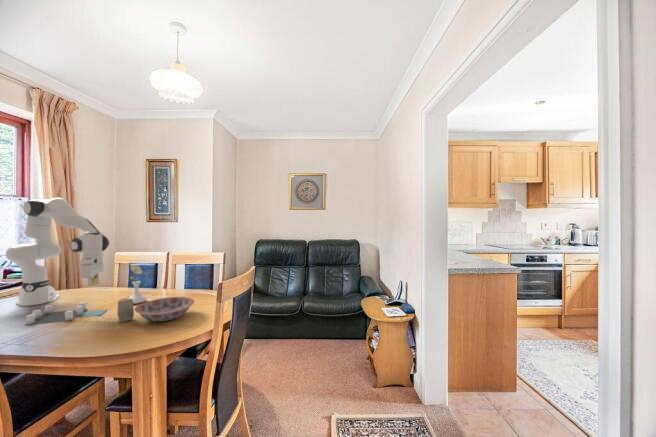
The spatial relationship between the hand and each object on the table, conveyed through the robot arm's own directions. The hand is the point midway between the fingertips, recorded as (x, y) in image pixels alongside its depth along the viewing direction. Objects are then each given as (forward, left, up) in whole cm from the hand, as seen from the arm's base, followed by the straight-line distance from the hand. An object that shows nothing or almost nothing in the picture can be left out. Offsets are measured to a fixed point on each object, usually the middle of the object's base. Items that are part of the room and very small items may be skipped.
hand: (93, 282), depth 163 cm
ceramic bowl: (+21, +41, -19) cm, 50 cm away
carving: (+18, +21, -19) cm, 33 cm away
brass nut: (0, 0, -1) cm, 1 cm away
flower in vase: (-17, +17, -19) cm, 31 cm away
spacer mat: (0, -16, -19) cm, 25 cm away
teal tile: (0, 0, -19) cm, 19 cm away
